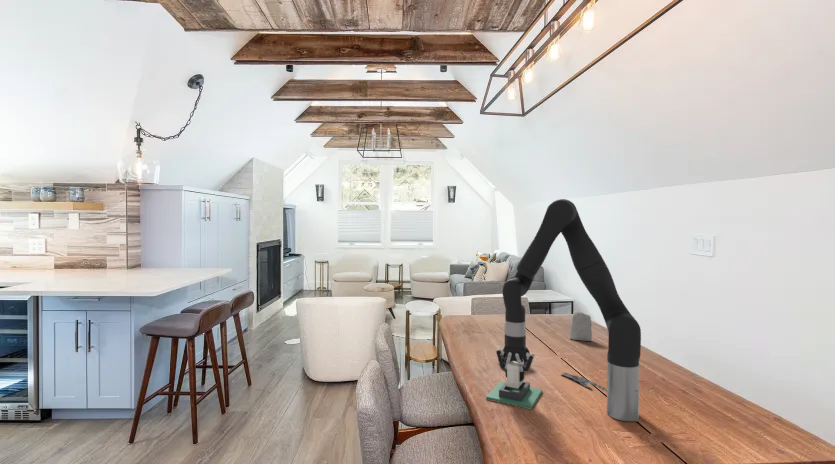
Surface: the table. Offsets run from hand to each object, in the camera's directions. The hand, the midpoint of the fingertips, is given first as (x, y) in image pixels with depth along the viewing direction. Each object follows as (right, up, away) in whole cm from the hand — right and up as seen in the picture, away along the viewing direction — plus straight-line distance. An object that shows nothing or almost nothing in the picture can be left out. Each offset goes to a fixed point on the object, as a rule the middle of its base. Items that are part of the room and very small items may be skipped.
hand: (514, 379), depth 149 cm
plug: (0, -2, 0) cm, 2 cm away
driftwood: (+30, -6, +12) cm, 33 cm away
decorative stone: (+52, -4, +70) cm, 88 cm away
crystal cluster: (+7, -5, +31) cm, 32 cm away
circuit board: (0, -6, 0) cm, 6 cm away
